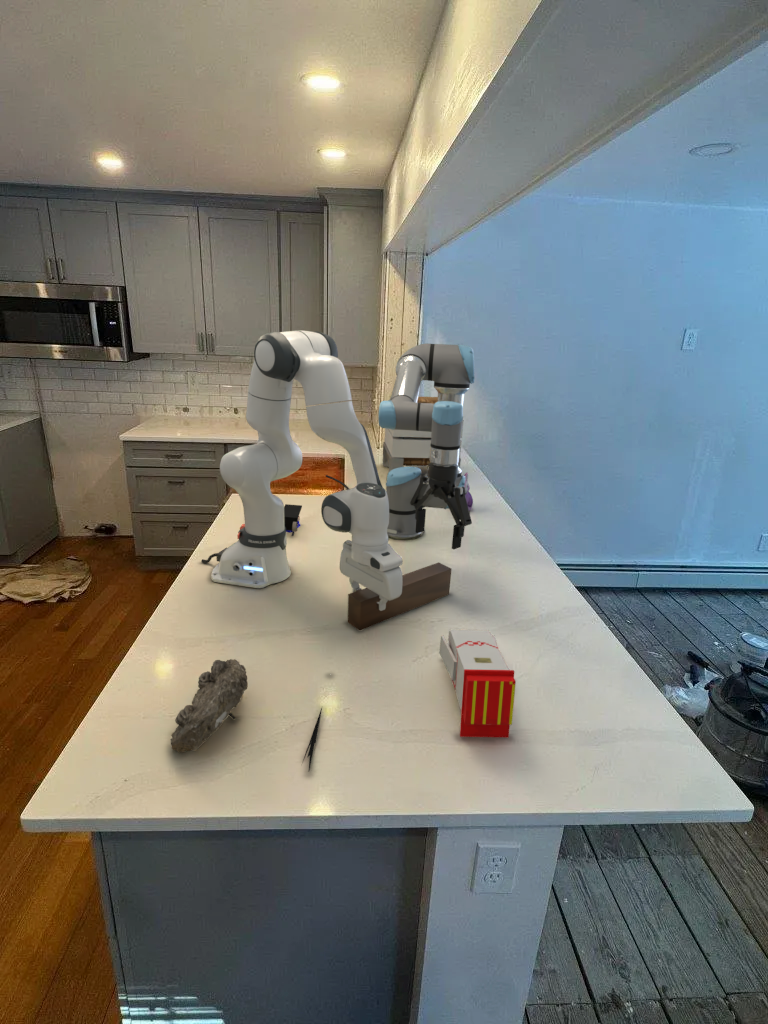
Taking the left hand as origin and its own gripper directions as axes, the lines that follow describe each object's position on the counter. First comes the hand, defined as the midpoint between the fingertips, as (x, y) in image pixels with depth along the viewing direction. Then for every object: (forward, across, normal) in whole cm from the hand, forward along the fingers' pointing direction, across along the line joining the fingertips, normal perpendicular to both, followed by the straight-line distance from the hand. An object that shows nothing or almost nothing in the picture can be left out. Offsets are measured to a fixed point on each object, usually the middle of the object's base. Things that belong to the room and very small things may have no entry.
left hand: (368, 601), depth 141 cm
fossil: (+6, +9, -45) cm, 47 cm away
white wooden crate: (+5, -92, +107) cm, 141 cm away
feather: (+6, +22, -30) cm, 38 cm away
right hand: (-11, 0, +24) cm, 26 cm away
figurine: (+5, -44, +85) cm, 96 cm away
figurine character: (+5, -64, +17) cm, 66 cm away
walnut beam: (+6, -1, +12) cm, 13 cm away
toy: (+6, +34, 0) cm, 35 cm away
